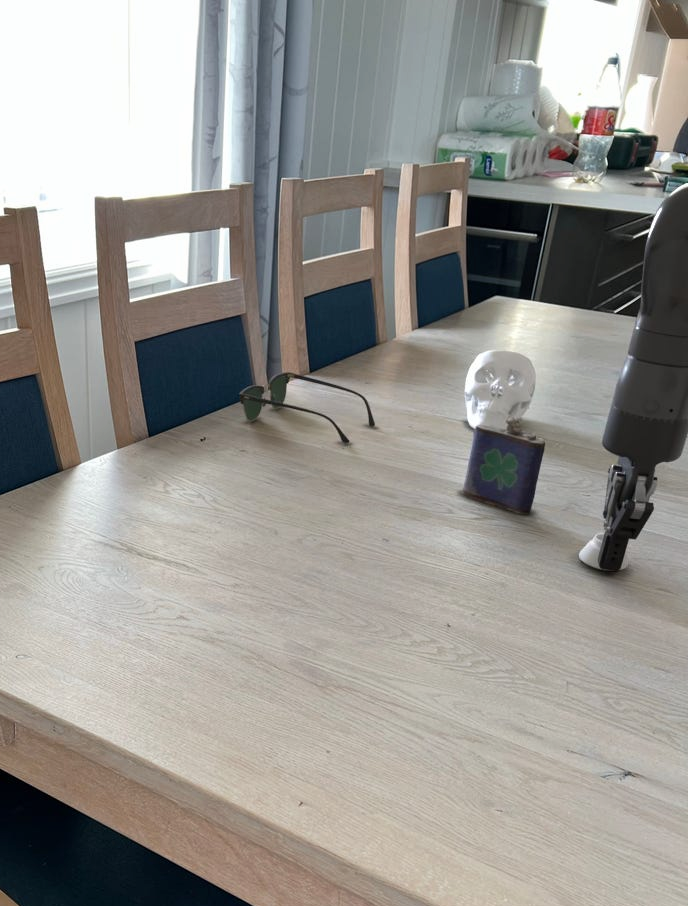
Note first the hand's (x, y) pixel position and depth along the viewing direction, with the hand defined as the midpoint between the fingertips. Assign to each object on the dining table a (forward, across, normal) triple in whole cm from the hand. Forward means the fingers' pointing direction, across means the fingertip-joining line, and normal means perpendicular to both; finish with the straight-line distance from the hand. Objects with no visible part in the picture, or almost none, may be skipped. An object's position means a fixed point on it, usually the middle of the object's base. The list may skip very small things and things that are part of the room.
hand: (608, 566), depth 103 cm
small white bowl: (+1, +3, 0) cm, 4 cm away
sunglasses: (+1, +42, +38) cm, 56 cm away
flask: (+1, +18, +11) cm, 21 cm away
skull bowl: (+1, +56, +10) cm, 56 cm away
